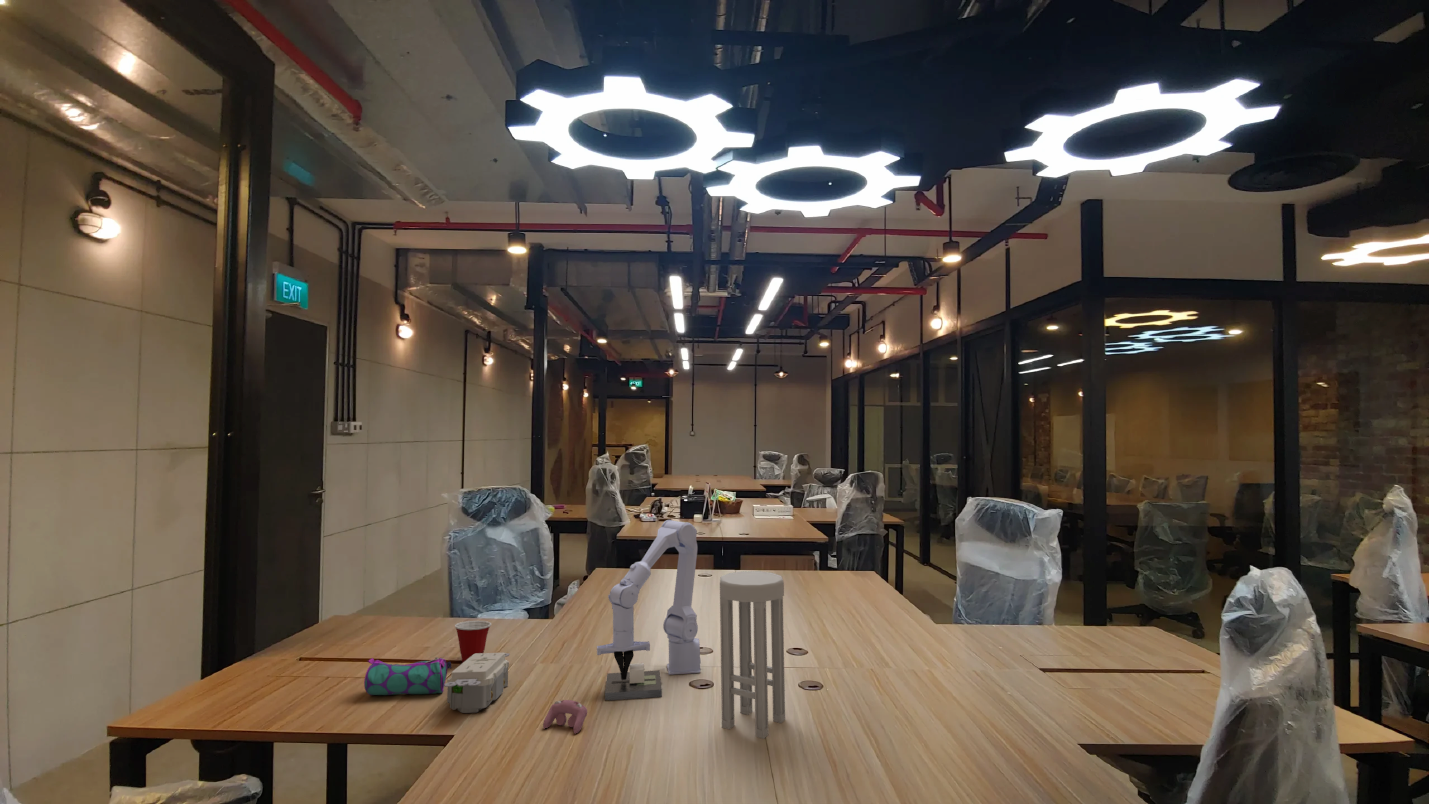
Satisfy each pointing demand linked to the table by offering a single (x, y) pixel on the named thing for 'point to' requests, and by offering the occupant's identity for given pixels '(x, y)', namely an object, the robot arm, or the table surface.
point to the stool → (758, 591)
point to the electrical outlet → (477, 682)
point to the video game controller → (559, 713)
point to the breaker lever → (637, 673)
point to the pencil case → (406, 677)
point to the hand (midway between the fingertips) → (623, 678)
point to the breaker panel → (633, 686)
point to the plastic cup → (472, 637)
